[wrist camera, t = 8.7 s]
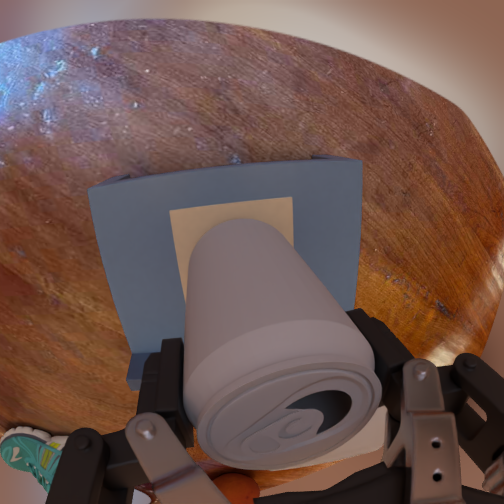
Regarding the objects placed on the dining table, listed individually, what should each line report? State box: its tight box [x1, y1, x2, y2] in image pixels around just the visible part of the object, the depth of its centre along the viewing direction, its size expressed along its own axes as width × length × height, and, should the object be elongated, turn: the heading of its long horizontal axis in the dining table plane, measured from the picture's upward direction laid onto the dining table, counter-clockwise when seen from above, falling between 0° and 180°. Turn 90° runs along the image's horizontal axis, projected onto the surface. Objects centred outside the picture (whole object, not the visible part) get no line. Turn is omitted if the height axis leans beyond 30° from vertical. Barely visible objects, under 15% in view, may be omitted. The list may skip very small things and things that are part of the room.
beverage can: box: [183, 219, 382, 470], centre depth 13 cm, size 6×6×12 cm
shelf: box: [87, 155, 362, 391], centre depth 21 cm, size 14×18×9 cm
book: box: [270, 406, 387, 471], centre depth 37 cm, size 15×23×4 cm, turn 80°
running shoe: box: [0, 426, 69, 493], centre depth 27 cm, size 11×29×11 cm, turn 99°
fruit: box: [212, 473, 260, 504], centre depth 37 cm, size 9×9×8 cm
